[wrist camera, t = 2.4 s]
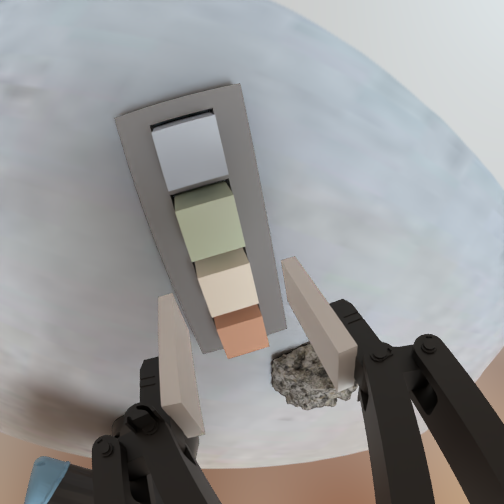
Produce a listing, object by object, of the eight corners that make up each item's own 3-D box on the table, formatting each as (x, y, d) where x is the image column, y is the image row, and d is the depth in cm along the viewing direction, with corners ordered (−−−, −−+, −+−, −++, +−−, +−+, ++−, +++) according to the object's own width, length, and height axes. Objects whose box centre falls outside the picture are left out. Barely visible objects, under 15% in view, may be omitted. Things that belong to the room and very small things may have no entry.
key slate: (169, 177, 24) (168, 191, 21) (154, 127, 22) (151, 132, 19) (220, 162, 25) (228, 174, 21) (208, 112, 23) (215, 114, 19)
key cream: (206, 291, 31) (211, 317, 27) (193, 254, 28) (197, 278, 25) (248, 279, 31) (259, 303, 28) (239, 241, 29) (249, 262, 25)
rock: (344, 311, 43) (333, 350, 34) (369, 362, 43) (362, 406, 35) (270, 338, 49) (245, 374, 40) (297, 382, 50) (278, 422, 41)
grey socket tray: (200, 336, 36) (203, 354, 34) (120, 115, 23) (114, 118, 20) (279, 312, 37) (287, 328, 35) (233, 84, 24) (240, 83, 21)
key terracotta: (221, 332, 34) (228, 358, 30) (210, 303, 31) (216, 329, 28) (259, 321, 34) (269, 346, 31) (251, 291, 32) (262, 315, 28)
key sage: (188, 239, 27) (191, 262, 24) (174, 194, 25) (174, 211, 22) (235, 225, 28) (245, 246, 25) (224, 180, 26) (233, 194, 22)
